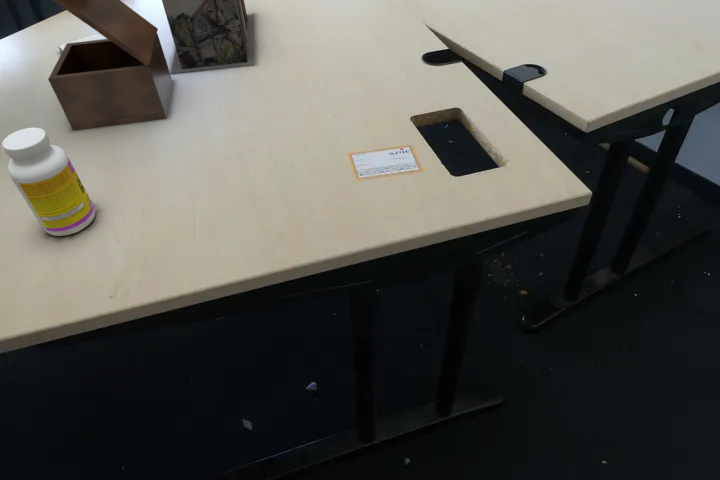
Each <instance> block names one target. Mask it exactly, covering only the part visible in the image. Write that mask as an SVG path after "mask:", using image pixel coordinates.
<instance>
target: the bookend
mask: <svg viewBox="0 0 720 480" xmlns="http://www.w3.org/2000/svg"><path fill="white" fill-rule="evenodd" d="M161 3H162V6H163V9H164V10H163V11H164V13H165V15H166V19H167V23H168V26H169V30H170V33H171V34H170V35H171V38H172V41H173V43H174V47H175V51H174V55H173V60H172V65H171V69H170V75H171V74H172V75H173V74H181V73H183V74H184V73H190V72H200V71H209V70H218V69H219V70H220V69H227V68H239V67H245V66H246V67H248V66H254V65H255V61H256V60H255V15H254V14H247V9H246V4H245V0H161Z"/></svg>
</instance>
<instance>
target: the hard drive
mask: <svg viewBox="0 0 720 480" xmlns="http://www.w3.org/2000/svg"><path fill="white" fill-rule="evenodd" d="M102 39H107V38H106V37H104V36H103V35H102V34H100V33H99V32H97V33H95V34H92V35H89V36H85V37H82V38H79V39H75V40H71V41H69V42H65V43H62V44H59V45H57V48H58V50H59V52H60V54H62V52H63V50H64V48H65V46H66V44H67V43H75V42H84V41H93V40H102Z"/></svg>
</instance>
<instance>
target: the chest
mask: <svg viewBox="0 0 720 480" xmlns="http://www.w3.org/2000/svg"><path fill="white" fill-rule="evenodd" d="M66 43H67V44H66V46H65V48H64V50H63V52H62V53H60V56H59V57H58V60H57V61H56V63H55V66H54V67H53V69H52V71H51V72H50V75H49V76H48V82H49V84H50V86H51V88H52V91H53V92H54V94H55V97H56V99H57V100H58V103H59V105H60V107H61V109H62V110H63V112H64V115H65V117H66V119H67V120H68V123H69V125H70V128H71V129H72V131H79V130H85V129H94V128H103V127H108V126H109V127H110V126H117V125H125V124H133V123H140V122H148V121H157V120H164V119H167V117H168V111H169V107H170V100H171V93H172V87H173V82H174V81H173V78H172V75H171V71H170V70H169V66H168V62H167V59H166V56H165V53H164V49H163V46H162V44H161V40H160V37H159V33H157V35H156V39H155V43H154V47H153V51H152V55H151V60H150V63H149V64H148V66H146V65H145V64H143V63H142V62H140V61H139V60H137V59H136V58H135V57H133V56H132V55H130V54H129V53H127V52H126V51H125V50H123V49H122V48H120V47H119V46H117V45H116V44H115V43H113V42H112V41H110V40H109V39H102V40H93V41H84V42H75V43H68V42H66Z"/></svg>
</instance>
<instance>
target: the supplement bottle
mask: <svg viewBox="0 0 720 480" xmlns="http://www.w3.org/2000/svg"><path fill="white" fill-rule="evenodd" d="M1 146H2V148H3V149H4V152H5V154H6V155H7V156H8V157H9V158H10V160H9V162H8V164H7V173H8V175H9V177H10V179H11V180H12V182H13V183H14V185H15V187H16V188H17V190H18V191H19V193H20V194H21V196H22V198H23V200H24V201H25V203H26V204H27V206H28V208H29V209H30V210H31V212H32V214H33V215H34V217H35V218H36V220H37V222H38V223H39V225H40V226H41V228H42V229H43V231H44V232H46V233H47V234H49V235H51V236H55V237H56V236H57V237H62V236H63V237H64V236H69V235H72V234H75V233H78V232H80V231H82V230H83V229H85V228H87V227H88V225H90V224H91V222H92V221H94V218H95V216H96V208H95V206H94V204H93V202H92V200H91V198H90V196H89V194H88V192H87V191H86V188H85V186H84V185H83V182H82V181H81V179H80V177H79V175H78V173H77V171H76V169H75V167H74V166H73V164H72V162H71V160H70V158H69V156H68V154H67V152H66V151H65V150H64V149H63V148H62V147H60V146H57V145H55V144H51V140H50V137H49V136H48V134H47V133H46V131H45V129H42V128H40V127H26V128H21V129H19V130H16V131H13V132H12V133H10V134H9V135H7V136H6V137H5V138H4V139H3V141H2V142H1Z"/></svg>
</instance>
